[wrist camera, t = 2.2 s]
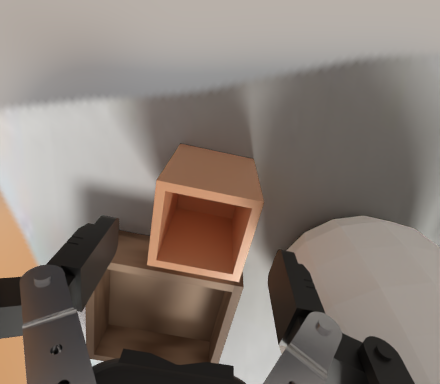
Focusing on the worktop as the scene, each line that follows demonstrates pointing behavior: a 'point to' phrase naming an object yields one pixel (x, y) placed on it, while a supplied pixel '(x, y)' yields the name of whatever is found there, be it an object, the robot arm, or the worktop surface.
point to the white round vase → (379, 286)
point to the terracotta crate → (205, 213)
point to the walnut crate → (158, 309)
